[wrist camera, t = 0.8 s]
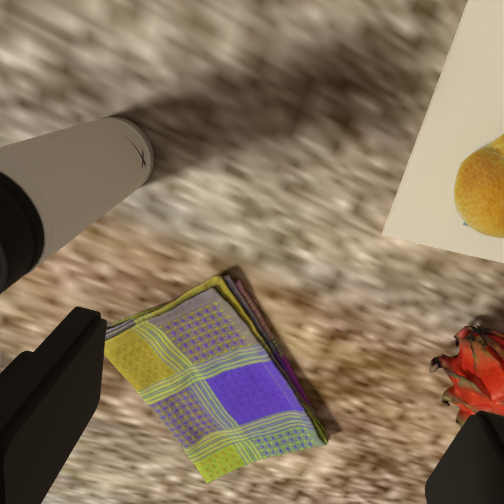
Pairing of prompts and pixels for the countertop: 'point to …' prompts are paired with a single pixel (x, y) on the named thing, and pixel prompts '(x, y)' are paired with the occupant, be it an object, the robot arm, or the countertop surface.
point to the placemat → (455, 138)
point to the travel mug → (64, 187)
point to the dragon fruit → (475, 372)
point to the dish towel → (215, 378)
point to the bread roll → (482, 189)
